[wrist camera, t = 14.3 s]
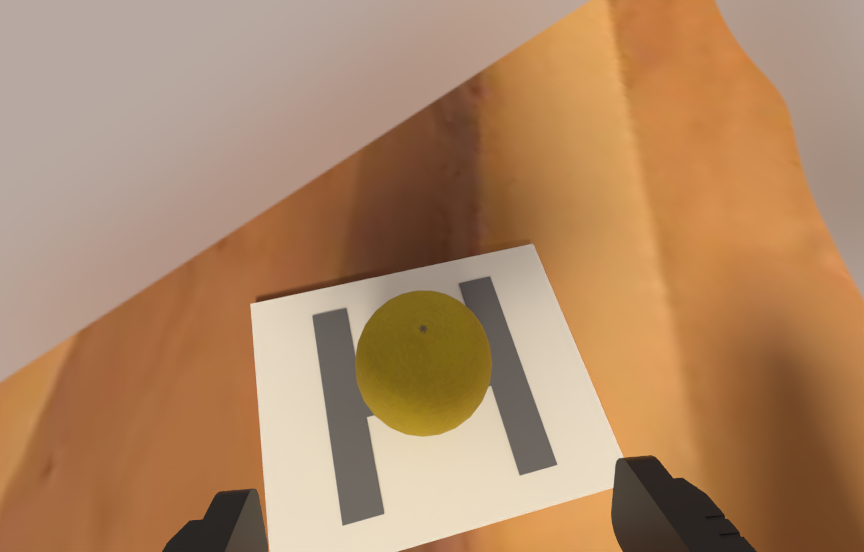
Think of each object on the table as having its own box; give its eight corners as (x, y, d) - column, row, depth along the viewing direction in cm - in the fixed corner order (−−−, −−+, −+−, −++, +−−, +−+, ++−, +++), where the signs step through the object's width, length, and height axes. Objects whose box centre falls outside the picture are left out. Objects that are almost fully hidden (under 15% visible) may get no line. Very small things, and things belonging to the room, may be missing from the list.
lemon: (348, 367, 23) (314, 297, 16) (445, 318, 24) (454, 233, 17) (398, 473, 21) (385, 446, 14) (502, 412, 22) (539, 360, 15)
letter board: (276, 586, 19) (271, 588, 19) (254, 308, 25) (250, 303, 24) (628, 482, 21) (634, 481, 21) (530, 249, 27) (533, 242, 27)
